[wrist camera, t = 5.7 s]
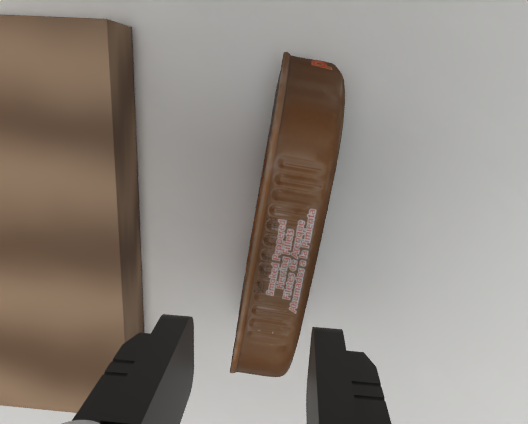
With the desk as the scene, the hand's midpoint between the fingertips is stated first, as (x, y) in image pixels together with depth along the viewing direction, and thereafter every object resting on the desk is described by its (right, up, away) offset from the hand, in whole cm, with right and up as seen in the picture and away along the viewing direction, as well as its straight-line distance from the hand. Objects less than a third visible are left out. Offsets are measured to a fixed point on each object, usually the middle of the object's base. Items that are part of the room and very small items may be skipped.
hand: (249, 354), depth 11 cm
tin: (+2, +4, +14) cm, 14 cm away
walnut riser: (-12, +3, +15) cm, 19 cm away
